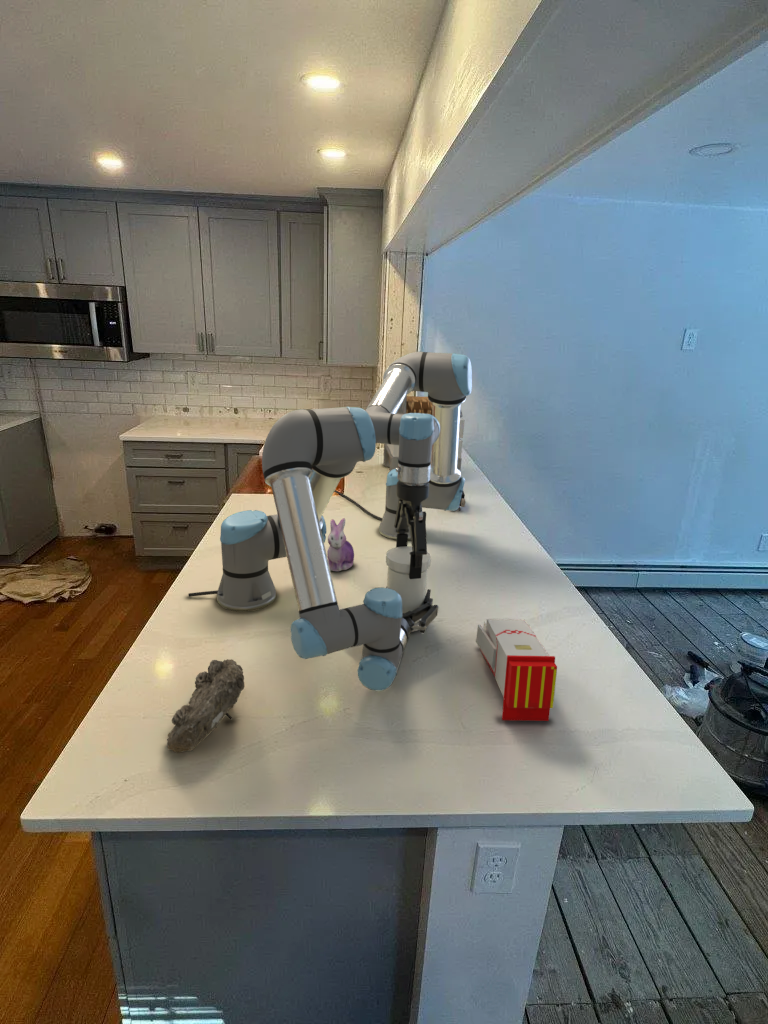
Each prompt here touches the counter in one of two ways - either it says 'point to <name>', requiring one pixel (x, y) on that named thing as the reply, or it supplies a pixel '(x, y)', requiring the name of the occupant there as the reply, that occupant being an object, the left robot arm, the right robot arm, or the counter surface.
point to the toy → (519, 668)
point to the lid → (404, 559)
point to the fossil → (206, 705)
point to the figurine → (339, 548)
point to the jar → (408, 589)
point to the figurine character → (462, 501)
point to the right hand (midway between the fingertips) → (407, 567)
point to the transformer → (417, 406)
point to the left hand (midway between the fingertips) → (408, 591)
